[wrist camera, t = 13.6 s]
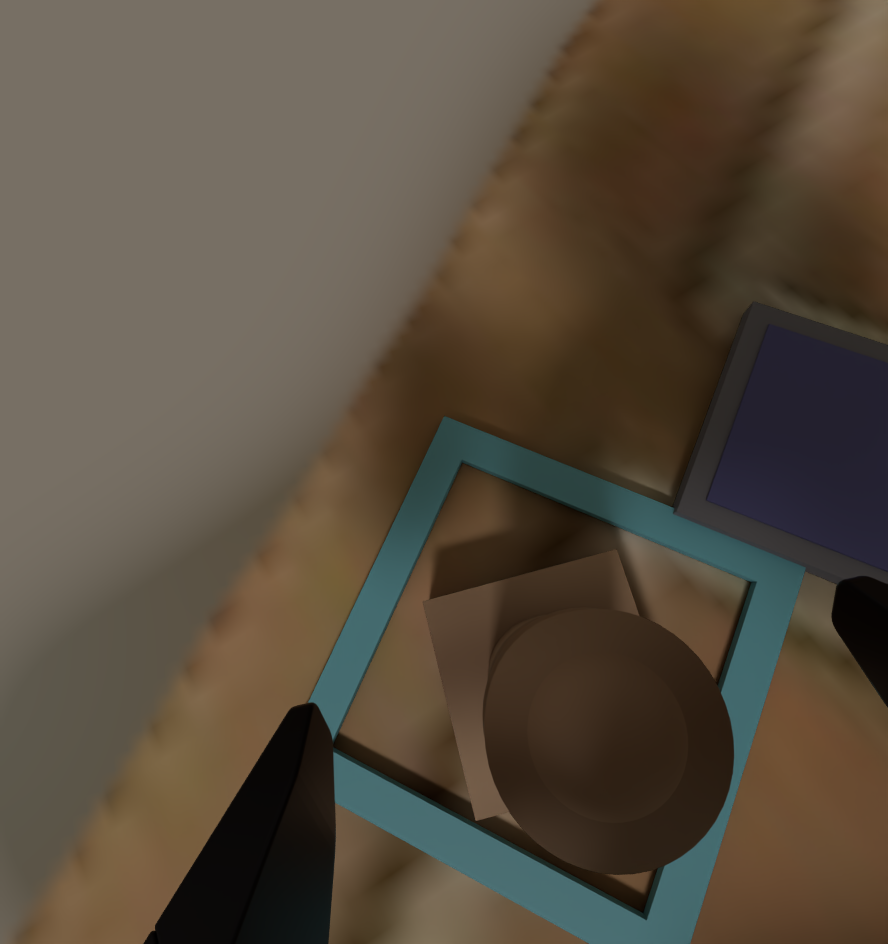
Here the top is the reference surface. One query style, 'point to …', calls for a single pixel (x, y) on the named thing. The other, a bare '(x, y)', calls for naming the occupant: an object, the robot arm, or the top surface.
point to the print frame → (464, 842)
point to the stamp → (582, 716)
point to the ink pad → (797, 447)
